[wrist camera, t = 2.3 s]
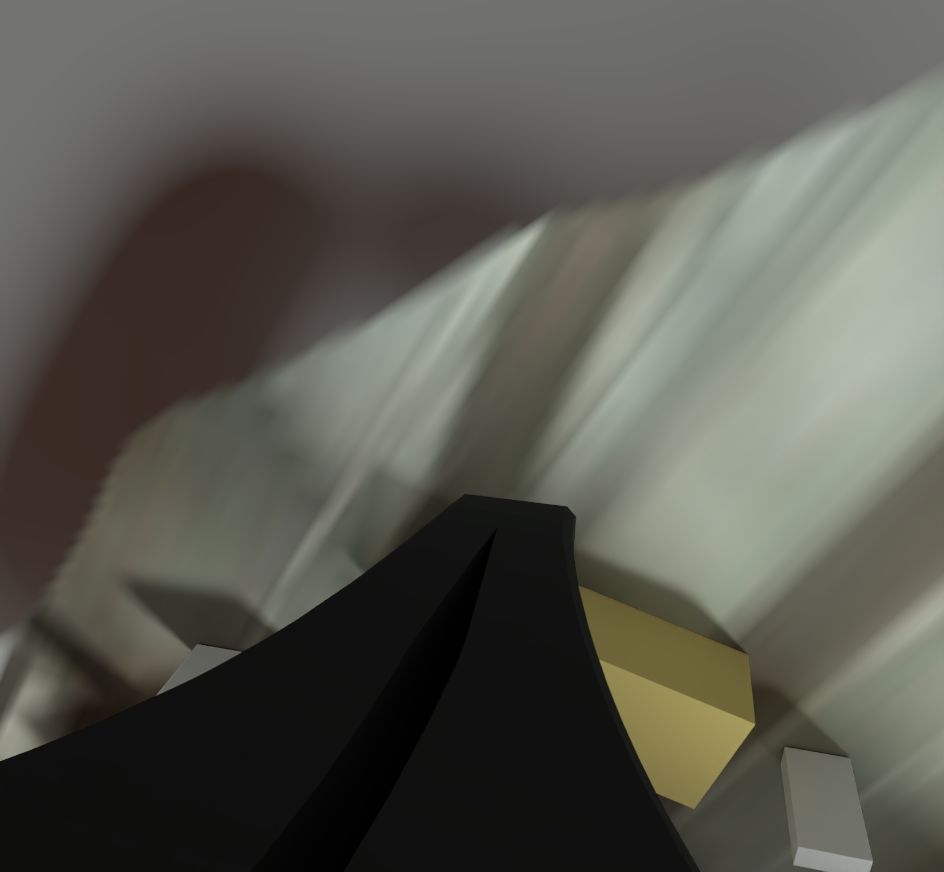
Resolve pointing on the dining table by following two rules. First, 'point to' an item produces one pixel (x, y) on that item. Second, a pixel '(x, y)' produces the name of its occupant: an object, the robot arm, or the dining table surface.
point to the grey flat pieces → (804, 781)
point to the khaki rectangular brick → (672, 695)
